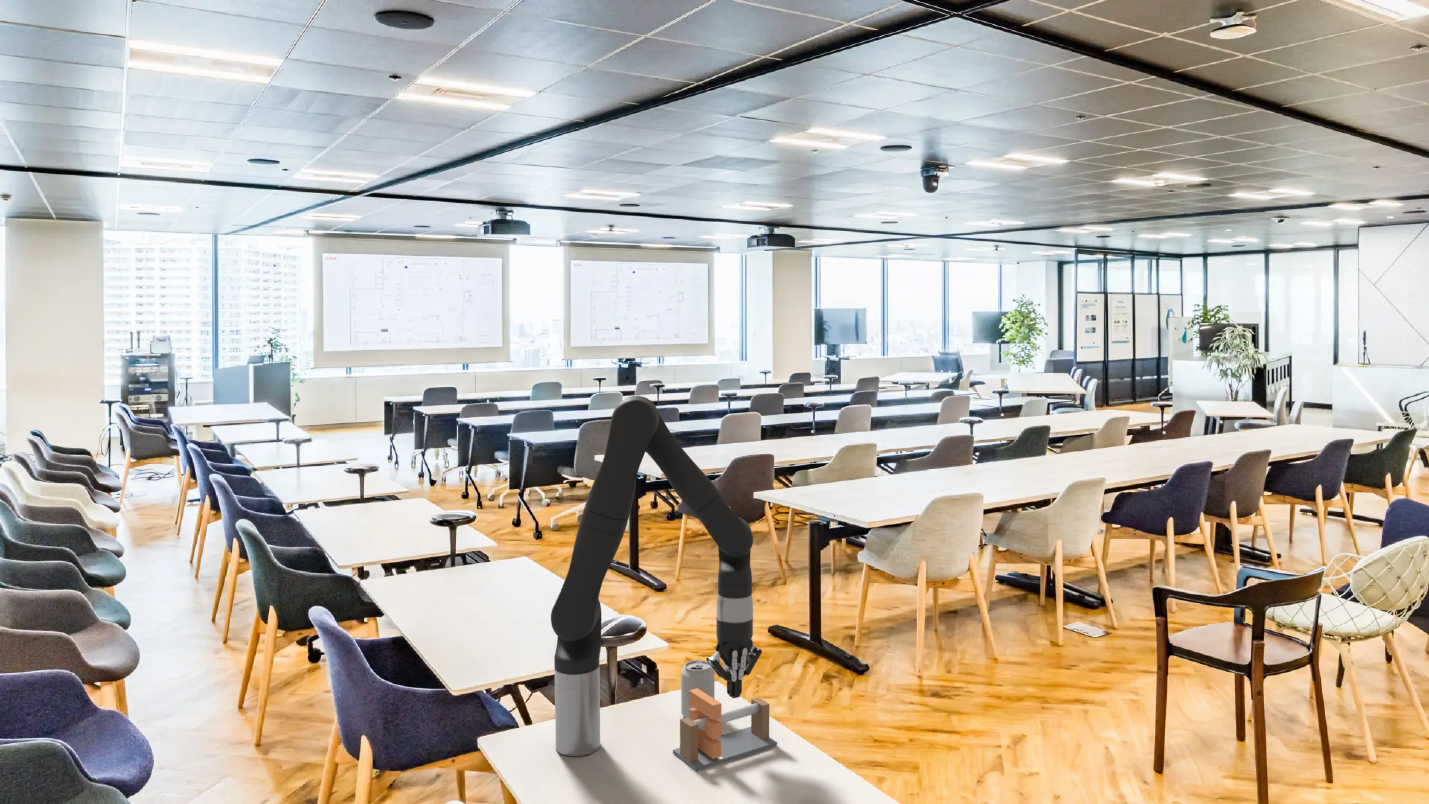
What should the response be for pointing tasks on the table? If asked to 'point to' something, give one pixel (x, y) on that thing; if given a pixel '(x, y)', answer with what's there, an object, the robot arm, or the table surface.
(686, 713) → the can
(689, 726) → the pipe stand
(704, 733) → the collar
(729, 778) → the table surface
